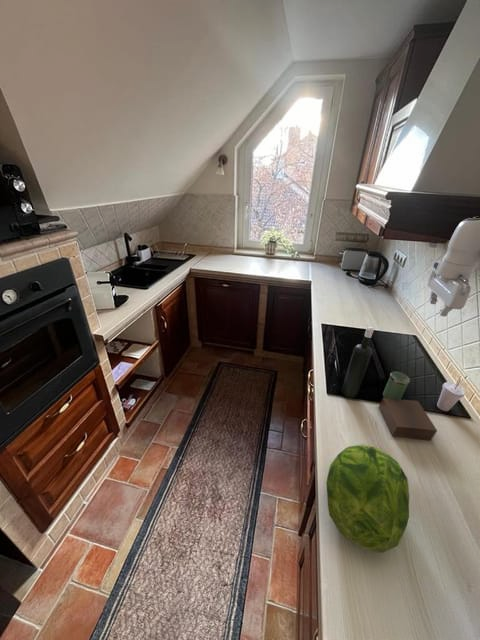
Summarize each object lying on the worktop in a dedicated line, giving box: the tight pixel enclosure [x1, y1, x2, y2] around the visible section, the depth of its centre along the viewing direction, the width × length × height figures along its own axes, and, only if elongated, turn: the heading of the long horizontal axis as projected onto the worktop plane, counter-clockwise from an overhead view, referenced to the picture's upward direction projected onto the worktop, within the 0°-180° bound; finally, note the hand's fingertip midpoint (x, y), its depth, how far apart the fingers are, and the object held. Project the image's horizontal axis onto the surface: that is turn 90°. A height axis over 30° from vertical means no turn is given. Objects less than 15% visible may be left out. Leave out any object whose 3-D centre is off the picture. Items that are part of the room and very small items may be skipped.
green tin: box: [382, 371, 411, 399], centre depth 95 cm, size 6×6×10 cm
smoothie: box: [436, 378, 467, 412], centre depth 90 cm, size 6×6×14 cm
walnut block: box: [378, 397, 438, 441], centre depth 86 cm, size 12×12×5 cm
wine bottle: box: [340, 325, 375, 399], centre depth 91 cm, size 6×6×30 cm
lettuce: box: [325, 444, 410, 553], centre depth 62 cm, size 18×23×19 cm
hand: (436, 309), depth 87 cm, fingers open, 8 cm apart
